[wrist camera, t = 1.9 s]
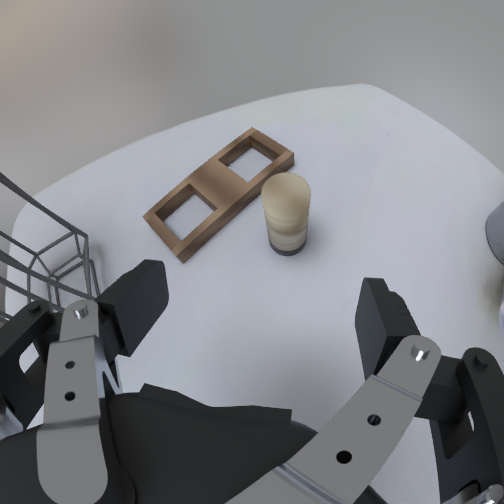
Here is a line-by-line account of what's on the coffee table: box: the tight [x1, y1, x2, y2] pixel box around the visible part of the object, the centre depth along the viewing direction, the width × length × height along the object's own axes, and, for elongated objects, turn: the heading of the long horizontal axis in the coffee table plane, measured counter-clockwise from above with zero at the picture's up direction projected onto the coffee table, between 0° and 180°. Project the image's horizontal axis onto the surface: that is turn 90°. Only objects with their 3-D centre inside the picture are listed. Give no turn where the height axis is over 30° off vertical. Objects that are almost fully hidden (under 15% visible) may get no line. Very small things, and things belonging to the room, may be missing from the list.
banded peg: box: [261, 173, 311, 256], centre depth 29 cm, size 4×4×10 cm
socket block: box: [142, 127, 294, 263], centre depth 36 cm, size 20×8×2 cm, turn 134°
